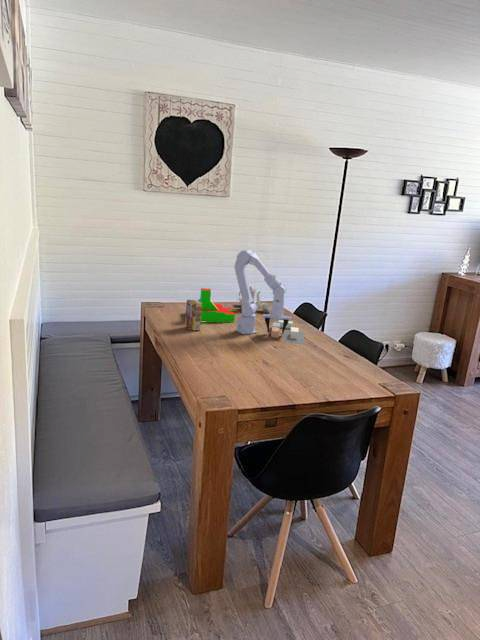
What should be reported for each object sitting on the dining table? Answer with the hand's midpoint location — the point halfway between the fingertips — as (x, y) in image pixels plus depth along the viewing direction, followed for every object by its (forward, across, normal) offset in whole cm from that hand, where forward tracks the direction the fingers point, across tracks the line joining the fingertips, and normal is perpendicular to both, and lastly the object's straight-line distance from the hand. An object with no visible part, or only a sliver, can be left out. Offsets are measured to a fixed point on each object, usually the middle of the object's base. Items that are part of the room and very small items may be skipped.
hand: (275, 332), depth 252 cm
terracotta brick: (+2, 0, 0) cm, 2 cm away
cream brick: (+2, +10, +1) cm, 10 cm away
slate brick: (+2, 0, +10) cm, 10 cm away
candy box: (+2, -44, -3) cm, 44 cm away
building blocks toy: (+2, -38, +22) cm, 44 cm away
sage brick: (+2, +5, +18) cm, 19 cm away
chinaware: (+2, -17, +52) cm, 55 cm away
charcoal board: (+2, +10, +1) cm, 10 cm away
